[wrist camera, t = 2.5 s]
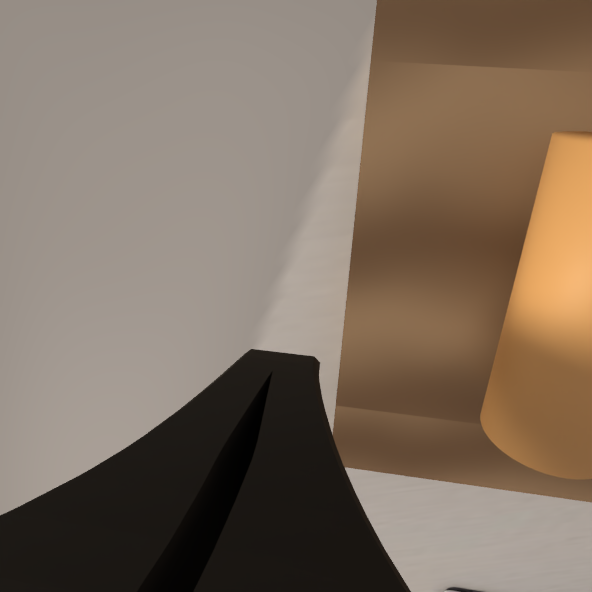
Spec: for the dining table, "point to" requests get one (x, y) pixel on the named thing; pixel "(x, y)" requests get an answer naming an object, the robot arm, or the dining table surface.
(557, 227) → the roller
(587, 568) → the dining table surface
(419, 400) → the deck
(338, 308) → the dining table surface
